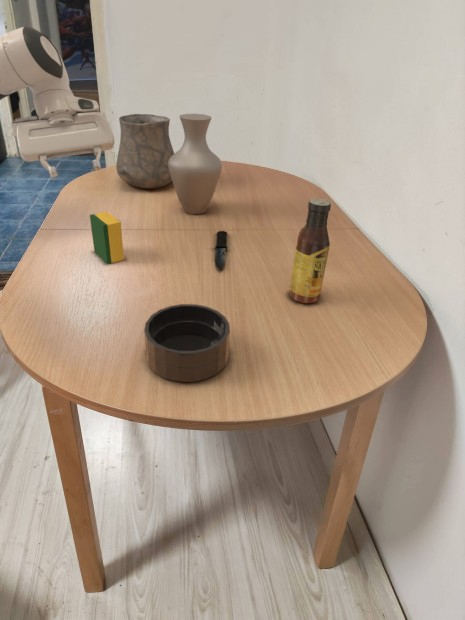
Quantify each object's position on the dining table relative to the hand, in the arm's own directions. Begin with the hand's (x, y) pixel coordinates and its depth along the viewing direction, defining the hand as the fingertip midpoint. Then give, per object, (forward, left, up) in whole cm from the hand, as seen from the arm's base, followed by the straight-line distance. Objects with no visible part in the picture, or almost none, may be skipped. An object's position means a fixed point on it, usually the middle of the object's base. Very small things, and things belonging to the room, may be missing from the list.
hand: (76, 172), depth 100 cm
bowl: (-5, -51, -16) cm, 53 cm away
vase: (+34, +2, -16) cm, 38 cm away
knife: (+23, -24, -16) cm, 37 cm away
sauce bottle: (+25, -49, -16) cm, 57 cm away
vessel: (+34, +29, -16) cm, 48 cm away
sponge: (+1, -11, -16) cm, 19 cm away
